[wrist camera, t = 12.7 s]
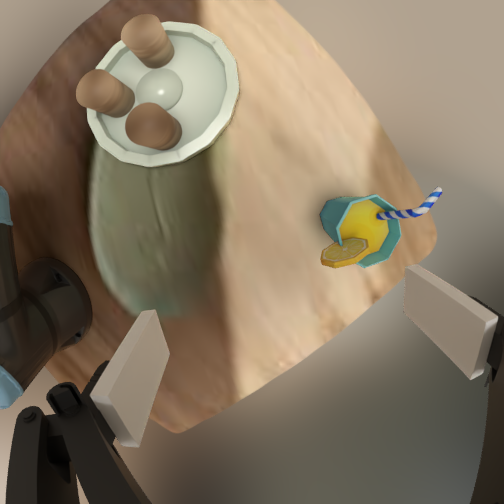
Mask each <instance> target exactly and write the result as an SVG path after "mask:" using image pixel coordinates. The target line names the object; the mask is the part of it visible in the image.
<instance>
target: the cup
mask: <svg viewBox="0 0 504 504" xmlns="http://www.w3.org/2000/svg"><path fill="white" fill-rule="evenodd" d="M441 193H442V189H441V188H440V187H436V188H435V190H434V191H433V192H432V193H431V194H430V195H429V197H428V198H427V199H426V200H425V201H424V202H423V203H422V205H421V206H419V207H418V208H415V209H408V210H399V211H397V209H396V208H395V207H393V206H392V205H391V204H389V203H388V202H386V201H385V200H384V199H382V198H381V197H379V196H378V195H376V194H374V195H369V196H366V197H339V198H336V199H332V200H329V201H327V202H326V204H325V206H324V208H323V210H322V211H321V213H320V217H321V221H322V225H323V228H324V230H325V231H326V232H327V233H328V235H329V236H330V237H331V238H332V239H333V241H334V242H335V243H333V244H332V245H330V246H329V247H327V248H326V249H324V250H323V251H322V254H321V259H320V260H321V263H322V265H325V266H329V267H332V268H339V267H343V266H347V265H351V264H355V263H356V264H358V265H360V266H361V267H363V268H366V267H369V266H372V265H375V264H377V263H380V262H383V261H385V260H388V259H389V257H390V255H391V254H392V252H393V250H394V248H395V246H396V245H397V243H398V241H399V239H400V237H401V230H400V224H399V219H401V218H413V217H417V216H420V215H422V214H424V213H426V212H427V211H428V210H429V209H430V208H431V206H432V205H433V204H434V202H435V201H436V200H437V199H438V197H439V196H440V195H441Z"/></svg>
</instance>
